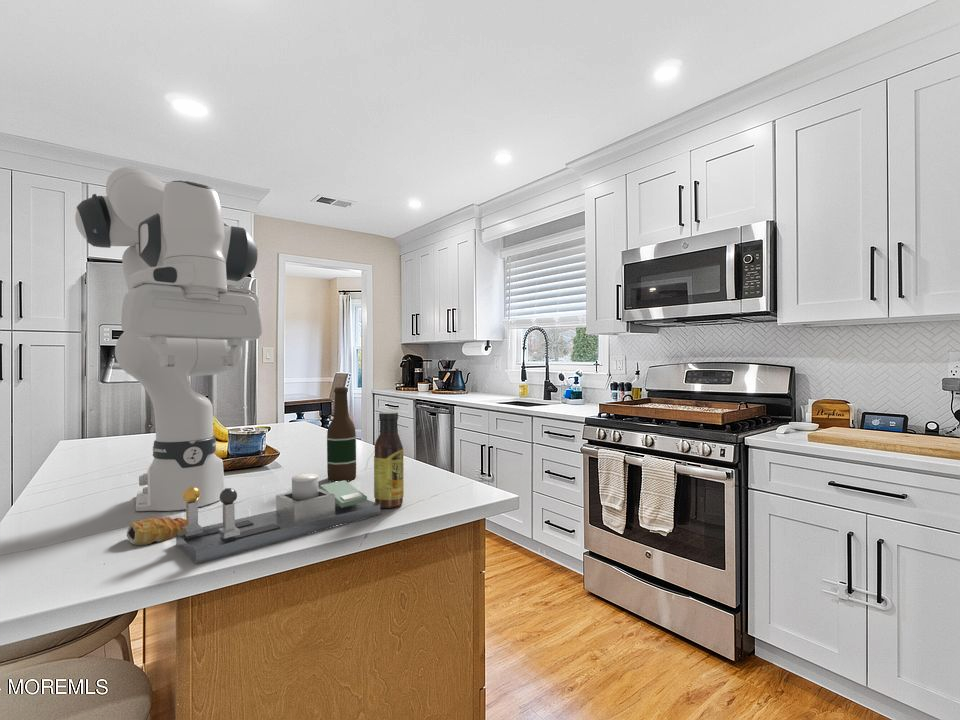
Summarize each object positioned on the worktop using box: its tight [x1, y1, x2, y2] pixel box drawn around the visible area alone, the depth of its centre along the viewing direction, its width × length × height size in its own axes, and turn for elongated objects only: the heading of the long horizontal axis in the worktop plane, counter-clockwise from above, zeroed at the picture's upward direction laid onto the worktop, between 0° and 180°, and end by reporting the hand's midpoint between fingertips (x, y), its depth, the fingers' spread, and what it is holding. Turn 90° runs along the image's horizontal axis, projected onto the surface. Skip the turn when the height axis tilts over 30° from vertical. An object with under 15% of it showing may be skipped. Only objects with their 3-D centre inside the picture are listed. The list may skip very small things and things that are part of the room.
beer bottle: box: [326, 386, 357, 482], centre depth 132 cm, size 8×8×24 cm
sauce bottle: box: [373, 411, 405, 509], centre depth 108 cm, size 7×6×20 cm
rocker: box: [319, 480, 368, 508], centre depth 102 cm, size 9×6×1 cm, turn 45°
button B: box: [291, 473, 320, 501], centre depth 96 cm, size 5×5×4 cm
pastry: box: [126, 516, 186, 546], centre depth 90 cm, size 9×7×4 cm
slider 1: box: [182, 487, 203, 536], centre depth 84 cm, size 3×3×8 cm
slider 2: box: [218, 487, 240, 538], centre depth 83 cm, size 3×3×8 cm
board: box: [175, 487, 381, 565], centre depth 93 cm, size 12×34×6 cm, turn 135°
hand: (199, 366), depth 80 cm, fingers open, 8 cm apart
